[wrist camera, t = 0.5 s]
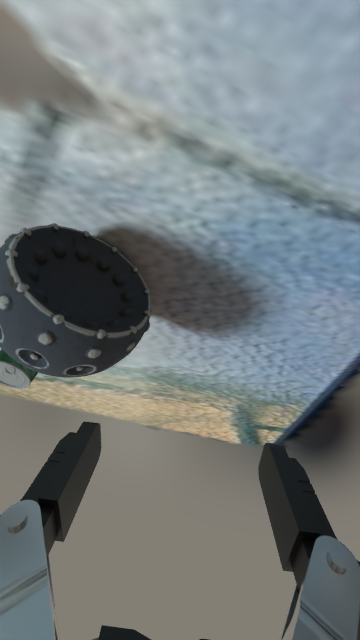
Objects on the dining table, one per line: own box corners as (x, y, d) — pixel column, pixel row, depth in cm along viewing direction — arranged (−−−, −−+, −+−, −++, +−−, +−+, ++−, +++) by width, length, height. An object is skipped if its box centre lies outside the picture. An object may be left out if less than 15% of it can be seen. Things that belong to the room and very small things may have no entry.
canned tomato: (54, 353, 56) (26, 393, 48) (20, 338, 54) (-16, 377, 46) (62, 333, 51) (33, 374, 43) (25, 316, 49) (-14, 355, 41)
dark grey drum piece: (58, 198, 34) (-71, 258, 19) (169, 281, 41) (142, 377, 25) (36, 252, 40) (-77, 332, 24) (136, 317, 46) (97, 413, 31)
